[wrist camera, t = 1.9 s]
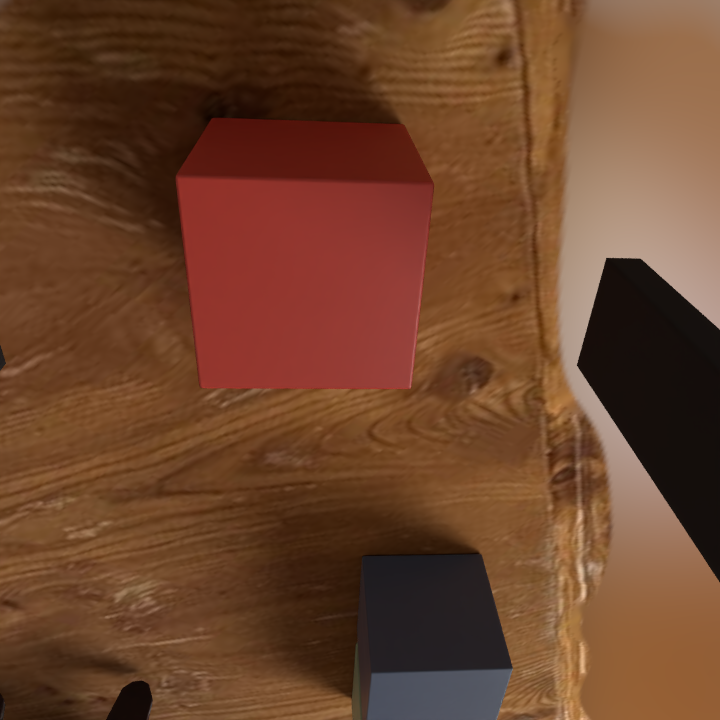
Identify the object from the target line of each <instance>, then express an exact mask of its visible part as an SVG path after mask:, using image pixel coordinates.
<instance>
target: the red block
mask: <svg viewBox="0 0 720 720" xmlns="http://www.w3.org/2000/svg"><path fill="white" fill-rule="evenodd" d="M175 179H176V188H177V197H178V205H179V214H180V223H181V231H182V240H183V249H184V257H185V266H186V275H187V283H188V292H189V301H190V309H191V318H192V327H193V335H194V344H195V353H196V361H197V370H198V379H199V385H200V388H296V389H410V388H411V386H412V378H413V369H414V360H415V351H416V342H417V333H418V325H419V316H420V307H421V298H422V289H423V280H424V271H425V262H426V253H427V245H428V236H429V227H430V218H431V209H432V200H433V191H434V183H433V181H432V179H431V177H430V175H429V173H428V171H427V169H426V167H425V165H424V163H423V161H422V159H421V157H420V155H419V153H418V151H417V149H416V147H415V145H414V143H413V141H412V139H411V137H410V135H409V133H408V131H407V130H406V128H405V126H404V125H403V124H383V123H355V122H326V121H298V120H270V119H242V118H212V119H211V121H210V122H209V124H208V125H207V127H206V128H205V130H204V132H203V133H202V135H201V136H200V138H199V140H198V141H197V143H196V144H195V146H194V148H193V149H192V151H191V152H190V154H189V156H188V157H187V159H186V160H185V162H184V164H183V165H182V167H181V168H180V170H179V171H178V173H177V175H176V177H175Z"/></svg>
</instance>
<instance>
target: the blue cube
mask: <svg viewBox="0 0 720 720" xmlns="http://www.w3.org/2000/svg"><path fill="white" fill-rule="evenodd" d="M357 639H358V656H359V672H360V689H361V706H362V720H497V717H498V714H499V711H500V707H501V704H502V701H503V698H504V695H505V692H506V689H507V685H508V682H509V679H510V676H511V673H512V670H513V667H512V664H511V660H510V656H509V653H508V649H507V646H506V642H505V638H504V635H503V631H502V627H501V624H500V620H499V616H498V613H497V609H496V605H495V602H494V598H493V594H492V591H491V587H490V583H489V580H488V576H487V573H486V569H485V565H484V562H483V558H482V555H481V554H464V555H404V556H363V557H362V566H361V580H360V594H359V608H358V621H357Z"/></svg>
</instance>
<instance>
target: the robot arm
mask: <svg viewBox="0 0 720 720" xmlns="http://www.w3.org/2000/svg"><path fill="white" fill-rule="evenodd" d="M5 364H6V362H5V359H4V356H3V353H2V349H1V346H0V370H1V369H2V368H3V366H4V365H5ZM577 366H578V368H579V369H580V371H581V372H582V374H583V375H584V377H585V378H586V380H587V381H588V383H589V385H590V386H591V387H592V389H593V391H594V392H595V394H596V395H597V396H598V398H599V399H600V401H601V403H602V404H603V406H604V407H605V409H606V410H607V411H608V413H609V415H610V416H611V418H612V419H613V421H614V422H615V424H616V425H617V427H618V428H619V430H620V432H621V433H622V434H623V436H624V438H625V439H626V441H627V442H628V444H629V445H630V447H631V448H632V450H633V451H634V453H635V454H636V456H637V457H638V459H639V460H640V462H641V463H642V465H643V466H644V468H645V469H646V471H647V473H648V474H649V475H650V477H651V479H652V480H653V481H654V483H655V485H656V486H657V488H658V489H659V491H660V492H661V494H662V495H663V497H664V498H665V500H666V501H667V503H668V504H669V506H670V507H671V509H672V510H673V512H674V513H675V515H676V517H677V518H678V519H679V521H680V523H681V524H682V526H683V527H684V529H685V530H686V532H687V533H688V535H689V536H690V537H691V539H692V541H693V542H694V544H695V545H696V547H697V548H698V550H699V551H700V553H701V554H702V556H703V557H704V559H705V560H706V562H707V563H708V565H709V567H710V568H711V570H712V571H713V573H714V574H715V576H716V577H717V579H718V580H719V582H720V330H719V329H718V328H717V327H716V326H715V325H714V324H713V323H712V322H711V321H709V320H708V319H707V318H706V317H705V316H704V315H702V313H701V312H699V311H698V310H697V309H696V308H695V307H694V306H693V305H692V304H691V303H689V302H688V301H687V300H686V299H685V298H684V297H683V296H681V294H679V293H678V292H677V291H676V290H675V289H674V288H673V287H672V286H670V285H669V284H668V283H667V282H666V281H665V280H664V279H662V277H660V276H659V275H658V274H657V273H656V272H655V271H654V270H653V269H651V268H650V267H649V266H648V265H647V264H646V263H645V262H644V261H643V260H641V259H631V258H628V259H627V258H606V262H605V265H604V269H603V273H602V276H601V280H600V283H599V287H598V291H597V294H596V298H595V301H594V305H593V309H592V313H591V316H590V320H589V323H588V327H587V331H586V334H585V338H584V342H583V345H582V349H581V352H580V356H579V360H578V363H577Z"/></svg>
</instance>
